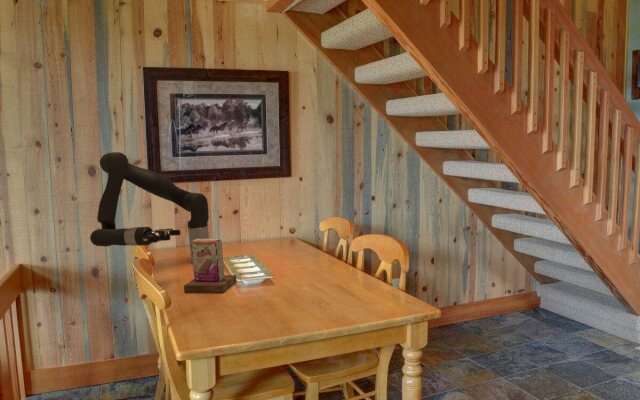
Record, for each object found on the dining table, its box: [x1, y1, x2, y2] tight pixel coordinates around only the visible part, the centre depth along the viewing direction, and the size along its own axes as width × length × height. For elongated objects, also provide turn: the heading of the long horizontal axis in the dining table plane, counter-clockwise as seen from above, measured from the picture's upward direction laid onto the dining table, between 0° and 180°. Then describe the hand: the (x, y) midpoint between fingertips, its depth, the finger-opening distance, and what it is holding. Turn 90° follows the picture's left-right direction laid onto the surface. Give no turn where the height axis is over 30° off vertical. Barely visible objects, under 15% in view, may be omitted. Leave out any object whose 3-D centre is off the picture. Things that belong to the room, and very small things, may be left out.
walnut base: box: [183, 274, 237, 294], centre depth 211 cm, size 14×16×3 cm
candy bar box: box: [191, 238, 226, 282], centre depth 210 cm, size 11×5×16 cm, turn 73°
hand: (175, 234), depth 214 cm, fingers open, 8 cm apart
